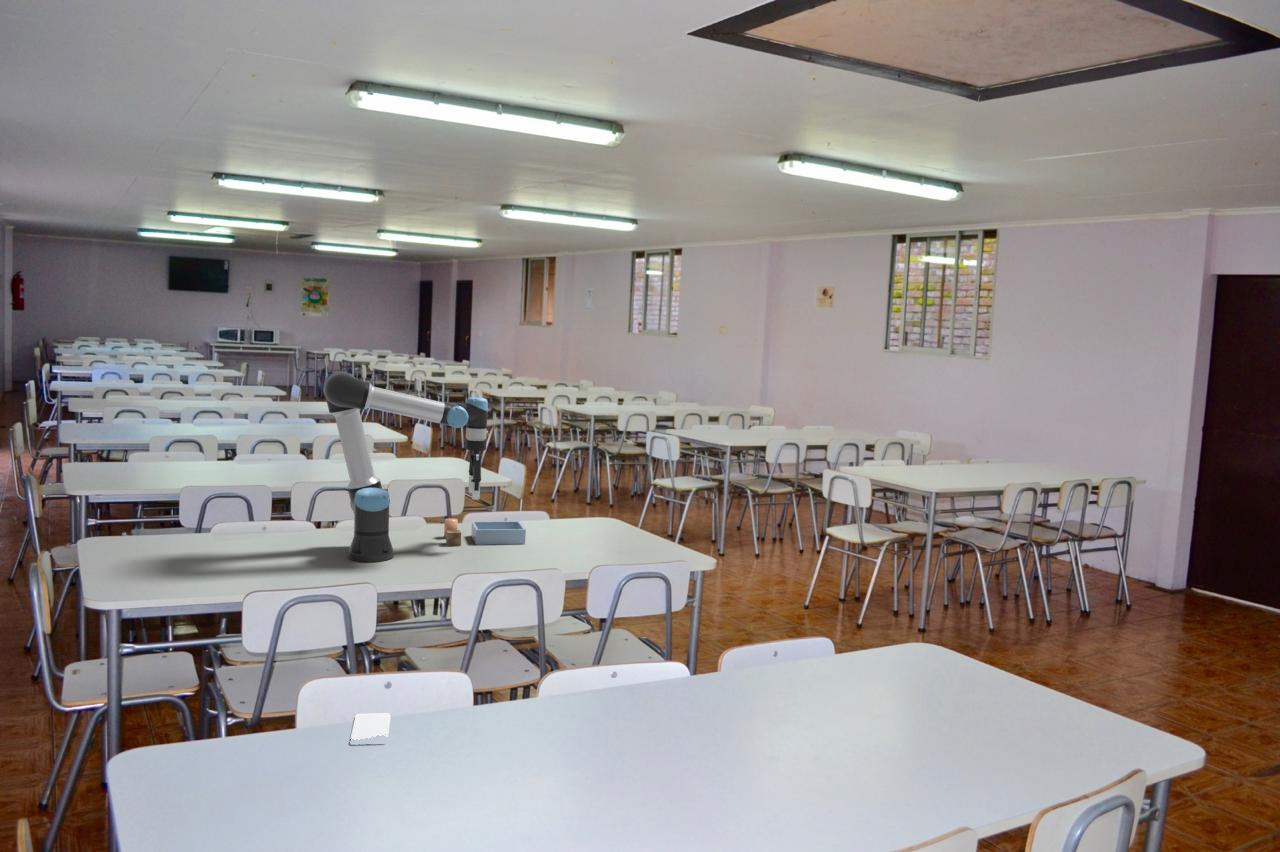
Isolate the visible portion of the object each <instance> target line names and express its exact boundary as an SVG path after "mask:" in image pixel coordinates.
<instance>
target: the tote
mask: <svg viewBox="0 0 1280 852" xmlns="http://www.w3.org/2000/svg"><path fill="white" fill-rule="evenodd" d="M470 533H471V538H472V540H473V542H474V543H475V546H477V545H478V546H480V545H485V546H486V545H490V546H491V545H525V544H526V536H527V535H526V528H525V527H524V525H523V524H522V523H521V521H519V520H517V521H514V520H512V521H510V520H509V521H507V520H506V521H505V520H504V521H502V520H501V521H500V520H498V521H495V520H494V521H471V532H470Z"/></svg>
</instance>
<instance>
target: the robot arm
mask: <svg viewBox="0 0 1280 852" xmlns="http://www.w3.org/2000/svg"><path fill="white" fill-rule="evenodd" d="M322 391H323V395H324V397H325V401H326V405H327V409H328V413H329V415H332V416H333V417H335V422H336V427H337V432H338V434H339V435H338V436H339V439H340V444H341V447H342V452H343V456H344V460H345V464H346V468H347V472H348V476H349V477H348V478H349V480H350V481H349V483H348V485H347V487H346V488H347V491H348V496H349V500H350V507H351V510H352V511H353V513H354V520H353V521H354V522H353V523H354V524H353V526H354V528H353V529H354V530H353V533H354V534H353V537H352V540H351V542H350V543H351V544H350V546H349V549H348V558H349V559H350V560H352V561H356V562H362V563H363V562H365V563H371V562H372V563H374V562H375V563H376V562H385V561H388V560H391V559H393V558H394V548H393V544H392V541H391V537H390V533H389V531H390V504H391V498H390V493H389V492H388V491H387V490H386V489H383V487H382V483H381V478H380V477H377V476H376V475H375V472H374V467H373V464H372V460H371V454H370V450H369V446H368V441H367V438H366V433H365V429H364V426H363V421H362V416H361V413H360V411H362V410H363V411H365V410H367V409H372V410H376V411H381V412H386V413H390V414H395V415H399V416H405V417H409V418H413V419H416V420H417V419H419V420H422V421H427V422H432V423H436V424H440V425H445V426H449V427H452V428H453V429H455V428H456V429H460V428H463V427H465V426H466V427H465V428H466V429H465V438H466V440H465V450H467V451H469V453H470V454H469V465H468V466H469V467H468V493H469V494H471V500H480V499H481V498H480V497H481V481H482V455H481V454H480V452H481V451H482V452H483V451H486V450H487V441H486V439H487V434H489V430H488V415H489V414H488V413H489V409H488V408H489V406H488V403H489V402H488V399H486V398H484V397H468V398H467V401H466V402H445V401H438V400H433V399H430V398H425V397H420V396H417V395H412V394H407V393H403V392H400V391H394V390H390V389H385V388H381V387H377V386H373V385H372V383H371V382H368V381H364V380H361V379H358V378H357V377H355V376H354V375H352V374H351V373H350V372H349V371H348V372H347V371H342V370H340V371H334V372H332V373H330V374H328V376H327V377H326V378H325V379H324V382H323V385H322Z"/></svg>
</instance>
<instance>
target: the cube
mask: <svg viewBox="0 0 1280 852" xmlns="http://www.w3.org/2000/svg"><path fill="white" fill-rule="evenodd" d="M445 541H446V542H445V544H446V546H447V547H461V546H462V531H461V529H457V530H447V532H446V538H445Z"/></svg>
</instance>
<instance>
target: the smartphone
mask: <svg viewBox="0 0 1280 852" xmlns="http://www.w3.org/2000/svg"><path fill="white" fill-rule="evenodd" d="M391 717H392V715H391V713H389V712H380V713H379V712H378V713H376V712H374V713H357V714H355V717H354V722H353V725H352V729H351V733H350V739H351V738H352V739H354V740H356V739H358V740H360V739H365V738H368V739H369V738H371V737H372V736H373V737H376V736H377V735H379V736H382V735H384V736H386V737H388V738H389V734H390V733H389V731H390V726H391V720H392V719H391ZM385 734H386V735H385ZM373 737H372V738H373ZM350 739H349V740H350ZM352 739H351V740H352Z"/></svg>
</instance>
